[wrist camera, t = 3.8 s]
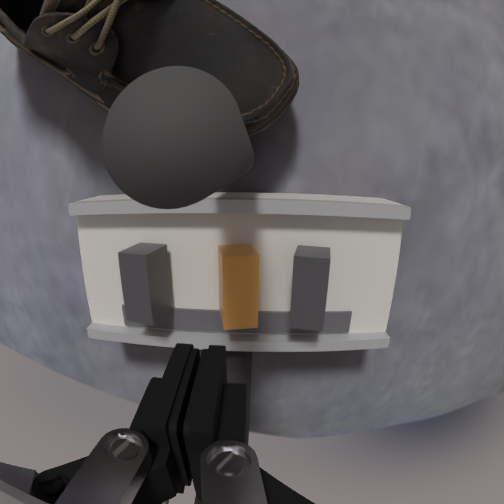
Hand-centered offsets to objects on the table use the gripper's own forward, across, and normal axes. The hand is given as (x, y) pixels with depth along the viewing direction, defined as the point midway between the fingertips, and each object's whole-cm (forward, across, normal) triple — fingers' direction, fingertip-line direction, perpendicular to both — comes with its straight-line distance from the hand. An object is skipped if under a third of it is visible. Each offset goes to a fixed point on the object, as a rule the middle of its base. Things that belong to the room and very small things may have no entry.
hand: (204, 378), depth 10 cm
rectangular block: (+10, 0, 0) cm, 10 cm away
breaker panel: (+14, 0, 0) cm, 14 cm away
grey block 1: (+10, +5, 0) cm, 11 cm away
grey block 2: (+10, -5, 0) cm, 12 cm away
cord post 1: (+14, 0, -8) cm, 16 cm away
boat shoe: (+15, +9, -18) cm, 25 cm away
